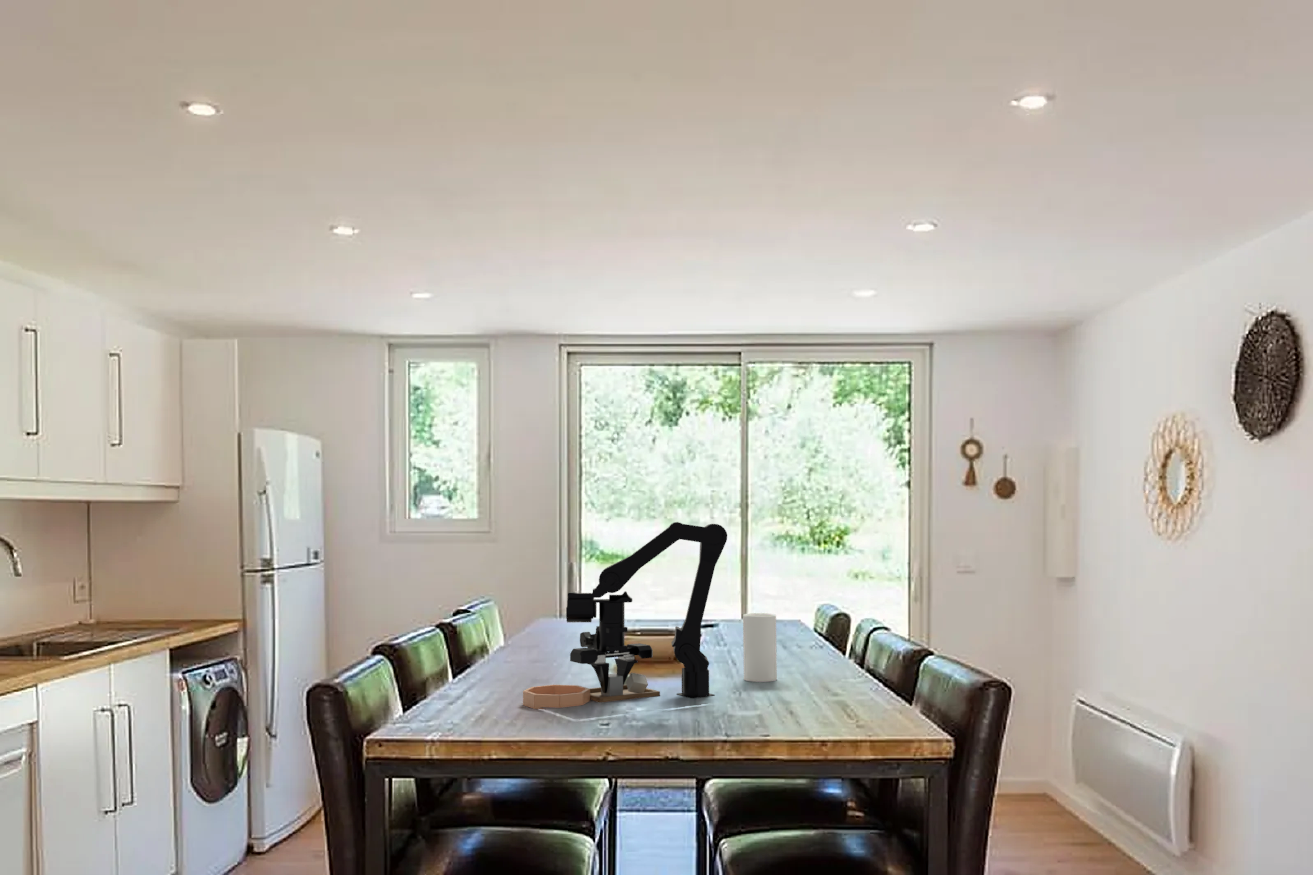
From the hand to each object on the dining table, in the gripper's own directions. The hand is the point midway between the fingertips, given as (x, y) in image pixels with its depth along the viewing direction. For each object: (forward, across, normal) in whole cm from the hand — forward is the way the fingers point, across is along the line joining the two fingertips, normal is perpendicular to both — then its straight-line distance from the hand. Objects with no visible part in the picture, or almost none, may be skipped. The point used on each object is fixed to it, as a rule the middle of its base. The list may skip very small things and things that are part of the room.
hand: (611, 692), depth 241 cm
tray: (+1, -1, 0) cm, 2 cm away
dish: (+1, +14, 0) cm, 14 cm away
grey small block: (-1, -5, +1) cm, 5 cm away
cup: (+1, -44, -2) cm, 44 cm away
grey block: (+1, 0, 0) cm, 1 cm away
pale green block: (-1, -10, -11) cm, 15 cm away
